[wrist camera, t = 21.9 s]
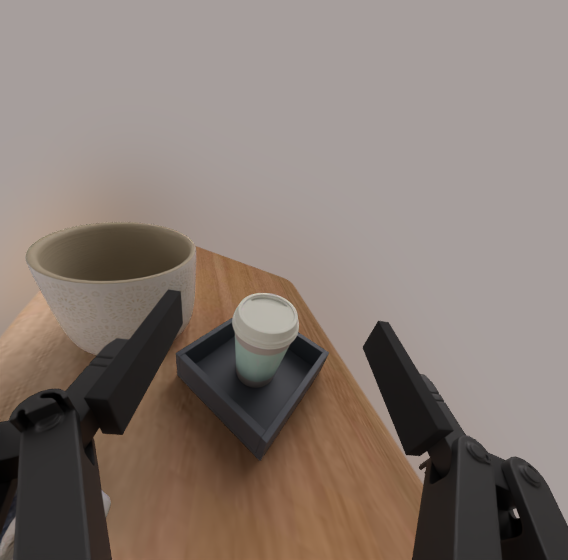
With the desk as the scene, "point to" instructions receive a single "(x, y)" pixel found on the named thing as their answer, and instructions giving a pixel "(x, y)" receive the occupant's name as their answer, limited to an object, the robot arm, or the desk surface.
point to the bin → (243, 399)
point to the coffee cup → (262, 336)
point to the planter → (111, 277)
